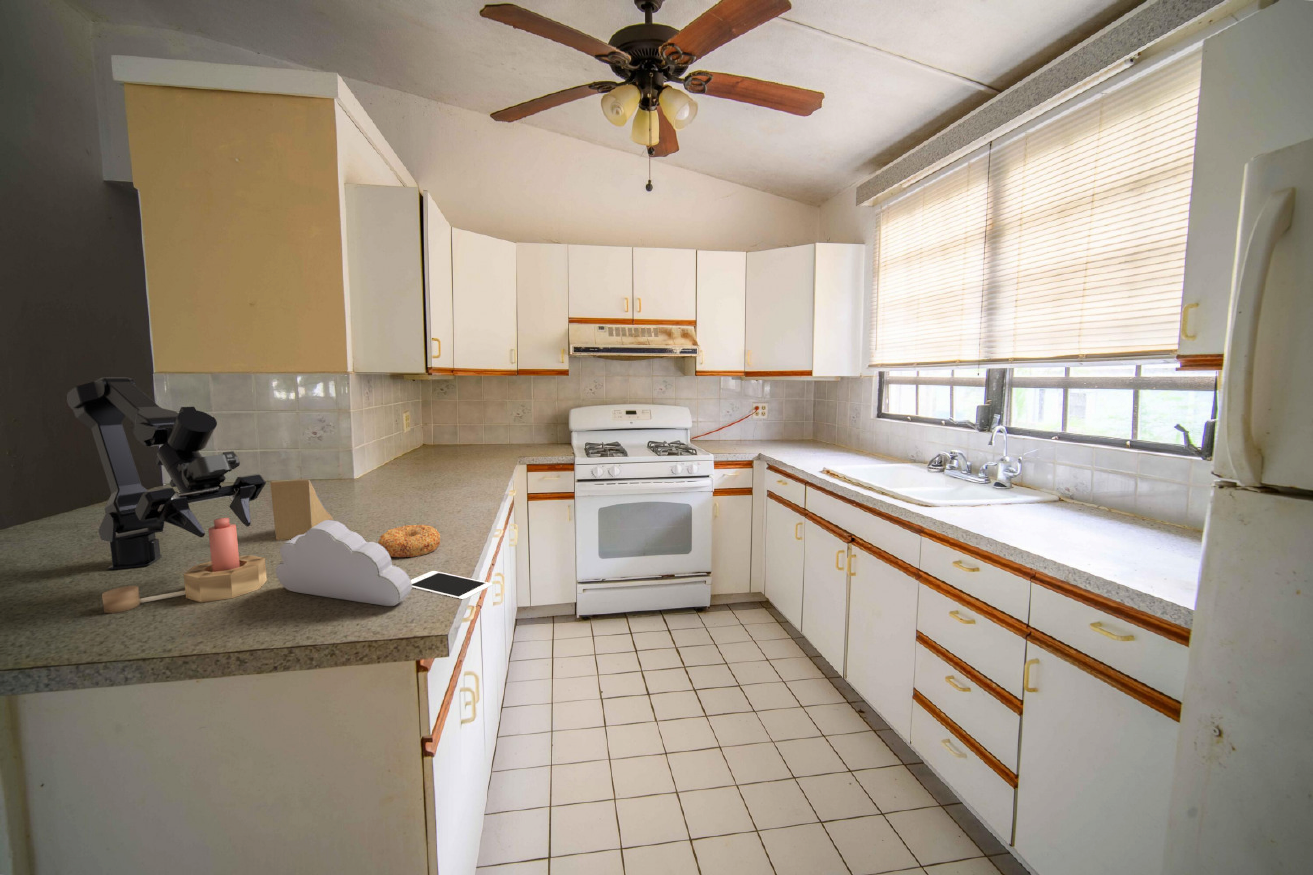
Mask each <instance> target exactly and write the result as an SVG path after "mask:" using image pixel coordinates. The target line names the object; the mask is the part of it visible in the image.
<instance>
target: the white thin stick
mask: <svg viewBox="0 0 1313 875" xmlns="http://www.w3.org/2000/svg"><path fill="white" fill-rule="evenodd" d="M180 596H186V593H185V589H184V590H179V591H174V592H169V593H163V594H158V595H153V596H152V595H151V596H148V597H147V596H146V597H141V598H139V599H140V604H143V603H148V602H154V601H161V600H164V599H170V598H176V597H180Z"/></svg>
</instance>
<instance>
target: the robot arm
mask: <svg viewBox="0 0 1313 875" xmlns="http://www.w3.org/2000/svg"><path fill="white" fill-rule="evenodd" d="M66 402H67V405H68V407H69V408H70V409H71V410H72V412H73V414H74V416H75V418H76V419H77V420H78V421H79V422H81V423H82V424H83V425H85V426H87V427H88V428H89V429H90V430H91V434H92V436H93V438H94V442H95V445H96V449H97V451H98V455H99V458H100V461H101V465H102V467H103V471H104V473H105V477H106V481H107V484H108V486H109V490H110V497H109V498H108V500H107V503H106V504H105V506H104V512H105V515H104V517H103V519H102V521H101V523H100V526H99V528H98V534H99V538H100V540H101V541H104V542H109V547H110V556H111V562H112V563H111V564H112V565H110V566H109V567H107V568H108V569H107V570H108V571H111V570H120V569H121V570H122V569H128V568H129V569H130V568H140V567H148V566H150V565H152V564H153V563H154V562H156V561H158V560H159V559H161V558H162V557H163V555H162V554H161V547H160V539H159V538H157V537H156V533H161V532H164V527H165V523H167V524H171V525H173V526H176V527H178V528H180V529H182V530H185V531H187V532H189V533H191V534H193V535H194V536H196V537H199V538H204V536H205V535H206V532H205V530H204V528H203V526H202V524H200V522H199V521H198V518H197V517H196V516H195V514H194V513H193V511H192V510H191V508H190V506H189V504H195V503H201V502H206V501H212V500H217V499H221V498H229V499H230V501H231V502H230V504H229V506H228V507H229V508H230V510H231V512H233V513H234V515H235V516H236V517H237V518H238V520H239V521H240V522H241V523H242V524H243V525H244V526H245V527H250V525H251V524H252V521H251V510H250V502H252V501H254V500H257V499H258V497H259V495H260V494H261V492H262V490H263V489H264V487H265V485H266V484H267V482H266V480H265V478H264V477H263V476H262V475H261V474H259V473H258V474H256V473H255V474H253V473H252V474H248V475H241V476H237V477H236V479H235V481H234V483H233V484H231V485H225V486H222V485H221V483H224V482H225V480H226V479H227V477H226V476H225V475H226V474H228V473H229V472H232V471H233V470H235V469H237V468H238V467H239V466H240V464H241V462H240V459H239V456H238V455H237V454H236V453H235V451H233V450H231V451H225V452H222V454H216V455H209V456H208V455H207V456H203V455H202V453H201V452H200V451H202V450H204V449H205V448H207V445H208V443H209V442H210V439H211V437H212V435H213V433H214V432H215V430H216V428H217V426H218V421H217V419H216V418H215V417H214V416H212V415H210V414H209V413H207V412H205V411H201V410H197V409H196V408H195V406H181V407H180V409H179V411H178V412H177V411H175V410H173V409H172V410H170V409H166V408H162V407H161V406H159V405H158V404H157V403H156V402H155V401H153V399H151V398H150V397H149V396H148V395H147V394H146V393H145V392H143V391H142V390H141V389H140V388H139V387H138V386H137V385H136V382H135V380H134V379H133V378H131V377H130V378H129V377H128V376H127V377H125V376H123V377H122V376H118V377H117V376H116V377H115V376H110V377H109V376H108V377H105V376H103V377H101V378H97V379H96V380H94V381H90V382H87V383H84V384H83V383H82V384H79V385H76V386H74V387H73V388H72V389H70V390H69V391H67V394H66ZM125 417H126V418H128V419H129V420H130V421H131V422H132V423H133V425H134V428H133V435H134V437H135V439H136V440H137V441H138V442H140V444H141V445H143V446H145V447H149V448H150V447H159V448H158V450H157V452H156V456H157V458H156V459H155V463H156V466H158V467H159V466H163V468H164V469H165V471H166V472H167V474H168V476H169V477H170V478H171V479H170V481H169V485H170V487H163V488H159V489H158V488H157V489H150V490H149V489H147V488H146V487H144V486H143V484H142V482H141V478H140V475H139V472H138V469H137V466H136V463H135V459H134V456H133V452H132V450H131V447H130V444H129V441H128V438H127V434H126V430H125V427H124V424H123V422H124V419H125ZM174 487H175V488H176V489H177V490H178V491H179V492H178V491H175V489H174Z"/></svg>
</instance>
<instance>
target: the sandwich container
mask: <svg viewBox="0 0 1313 875" xmlns="http://www.w3.org/2000/svg"><path fill="white" fill-rule="evenodd" d="M269 484H270V494H271V501H272V502H271V504H272V513H273V523H274V531H275V540H276V541H289V540H290V539H292V538H294V537H296V536H298V535H303V534H305V533H306V532H307V531H308V530H309V529H311V528H312V527H314V526H316V525H317V524H319V523H321V522H323V521H325V520H335V519H334V518H333V517H332V515H331V514H330V512H329V511H328V509H327V507H326V506H325V504H324V503H323V501H322V499H321V498H320V496H319V495H318V493H317V491H316V489H315V488H314V486H313V484H312V482H311V480H310V479H307V478H305V479H304V478H303V479H283V480H281V479H280V480H271V481H270V483H269Z"/></svg>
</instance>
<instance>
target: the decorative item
mask: <svg viewBox="0 0 1313 875" xmlns="http://www.w3.org/2000/svg"><path fill="white" fill-rule="evenodd" d="M279 549H280V550H279V552H280V557H281V560H282V561H280V562H279V563H278V564H276V566H275V570H274V571H275V575H276V578H277V580H278V582H279V583H280V585H282V586H283V588H285V589H286V590H288V591H290V592H294V593H298V594H299V593H300V594H305V595H313V596H319V597H326V598H333V599H338V600H345V601H352V602H358V603H365V604H372V605H378V606H384V607H394V606H396V605H398V604H400V603H401V602H402V601H403V600H404V599H405V598H407V596H409V595H410V594H411V591H412V589H413V588H412V583H411V580H412V579H411V577H410V576H409V574H408V573H407V572H406V571H405V570H404V569H403V568H401V567H399V566H396V565H394V564H393V563H392V557H390V555H389V553H388V551H387V550H386V549H385V548H384V547H383V546H382V545H380V544H379V543H378V542H374V541H367V540H366V539H365V538H364V537H363V536H362V535H361V534H359V533H358V532H356V531H353V530H350V529H349V528H348V527H347V526H346V524H344V523H342V522H341V521H339V520H335V519H334V520H325V521H323V522H321V523H319V524H317V525H316V526H314V527H312V528H311V529H309V530H308V531H307V532H306V533H305V534H303V535H298V536H296V537H294V538H292V539H291V540H286V541H285V542H284V543H283V544H282V545H281V546H280V548H279Z"/></svg>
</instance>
